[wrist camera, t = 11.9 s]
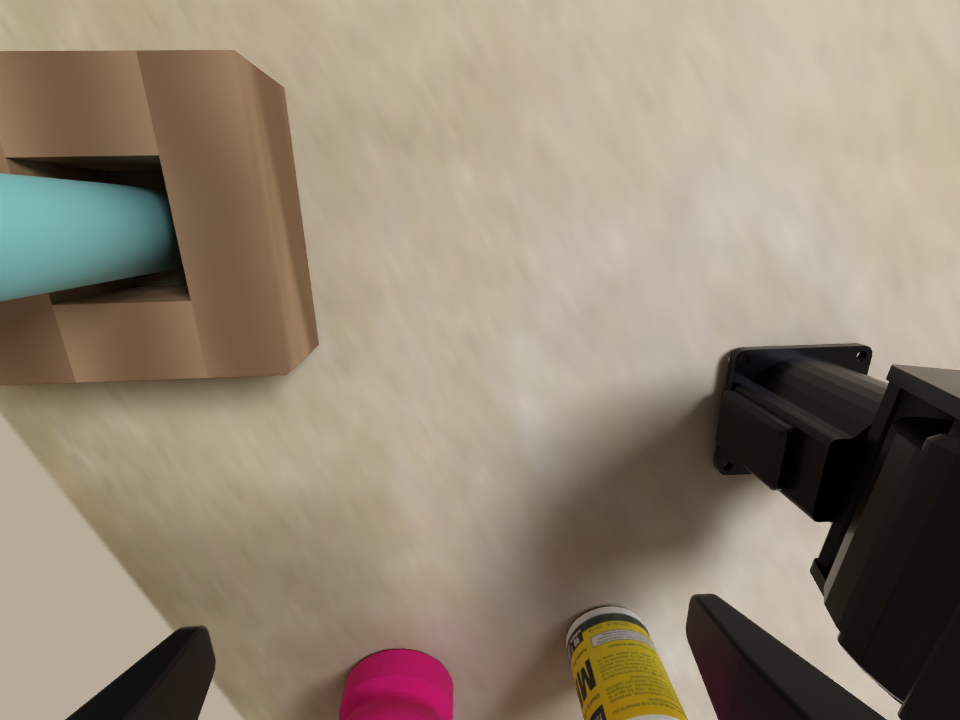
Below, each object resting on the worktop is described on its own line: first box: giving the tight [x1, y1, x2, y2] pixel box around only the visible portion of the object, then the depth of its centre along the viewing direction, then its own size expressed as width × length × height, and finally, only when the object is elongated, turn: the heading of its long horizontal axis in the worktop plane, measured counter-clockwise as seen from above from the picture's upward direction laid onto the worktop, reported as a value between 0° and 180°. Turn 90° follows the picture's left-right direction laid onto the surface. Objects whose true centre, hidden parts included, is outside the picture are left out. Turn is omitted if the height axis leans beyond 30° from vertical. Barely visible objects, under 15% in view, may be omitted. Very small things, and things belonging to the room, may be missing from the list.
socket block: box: [0, 50, 319, 385], centre depth 16 cm, size 10×10×4 cm
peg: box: [0, 173, 184, 302], centre depth 12 cm, size 3×3×12 cm
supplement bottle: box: [566, 606, 688, 720], centre depth 22 cm, size 5×5×8 cm
